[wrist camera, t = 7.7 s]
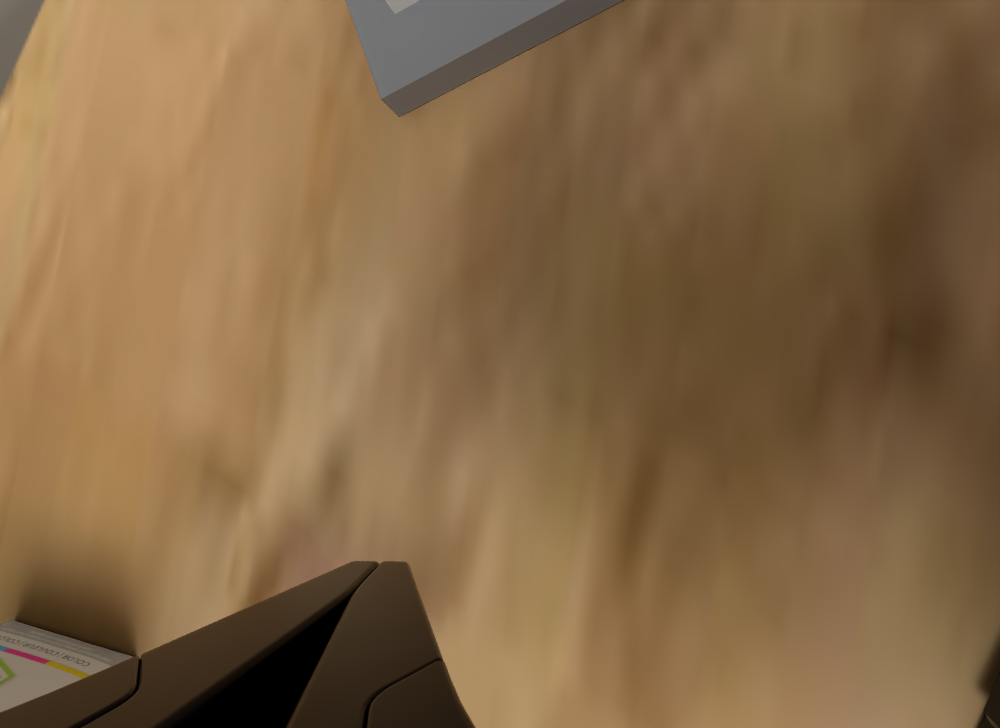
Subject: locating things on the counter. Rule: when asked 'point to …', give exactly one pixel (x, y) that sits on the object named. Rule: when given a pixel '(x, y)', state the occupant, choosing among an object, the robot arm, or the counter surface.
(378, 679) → the robot arm
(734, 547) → the counter surface
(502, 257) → the counter surface
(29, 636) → the ink box
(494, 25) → the console
